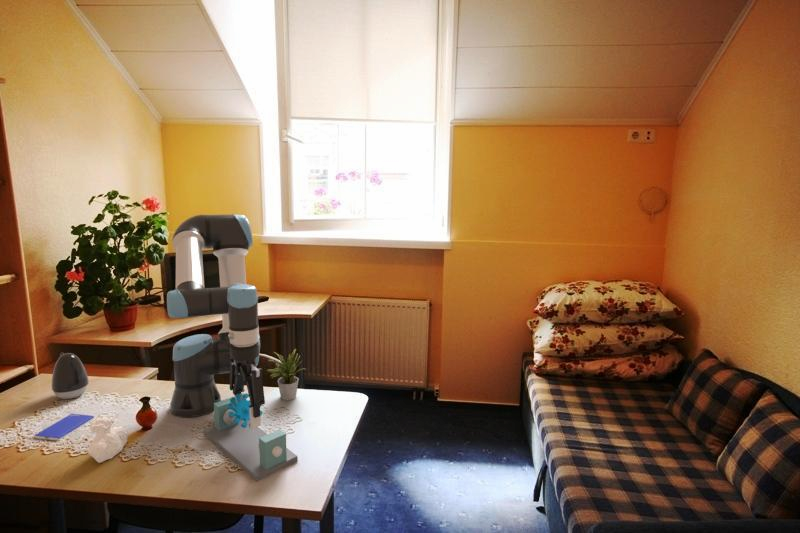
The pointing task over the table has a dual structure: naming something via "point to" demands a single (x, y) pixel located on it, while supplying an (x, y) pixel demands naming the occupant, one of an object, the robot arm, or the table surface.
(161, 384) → the table surface
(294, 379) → the house plant
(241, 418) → the gear
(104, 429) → the white irregular lump
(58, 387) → the dark grey egg shape
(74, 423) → the hard drive
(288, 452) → the shaft stand
